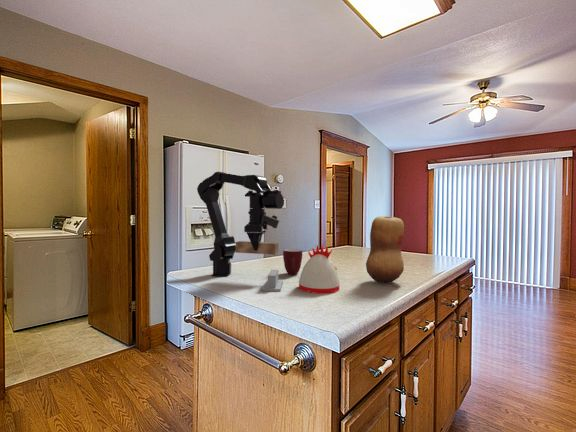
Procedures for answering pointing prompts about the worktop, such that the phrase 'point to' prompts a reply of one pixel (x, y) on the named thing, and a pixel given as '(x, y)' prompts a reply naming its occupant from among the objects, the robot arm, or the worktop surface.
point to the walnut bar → (262, 248)
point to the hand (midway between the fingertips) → (256, 249)
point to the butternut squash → (385, 249)
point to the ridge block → (273, 282)
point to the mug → (292, 260)
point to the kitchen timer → (319, 273)
